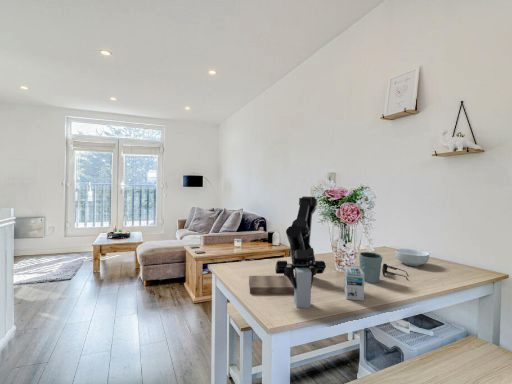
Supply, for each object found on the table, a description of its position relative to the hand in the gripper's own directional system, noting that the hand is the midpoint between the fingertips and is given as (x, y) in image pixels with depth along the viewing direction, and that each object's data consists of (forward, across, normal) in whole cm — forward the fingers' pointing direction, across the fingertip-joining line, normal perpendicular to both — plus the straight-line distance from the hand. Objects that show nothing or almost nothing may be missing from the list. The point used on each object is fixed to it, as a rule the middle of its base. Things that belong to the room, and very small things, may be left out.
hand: (303, 288), depth 103 cm
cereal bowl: (-32, +74, +42) cm, 91 cm away
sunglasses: (-18, +54, +28) cm, 63 cm away
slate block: (+4, 0, +6) cm, 7 cm away
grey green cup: (-14, +38, +24) cm, 47 cm away
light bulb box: (-2, +23, +12) cm, 26 cm away
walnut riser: (-9, -10, +18) cm, 22 cm away
